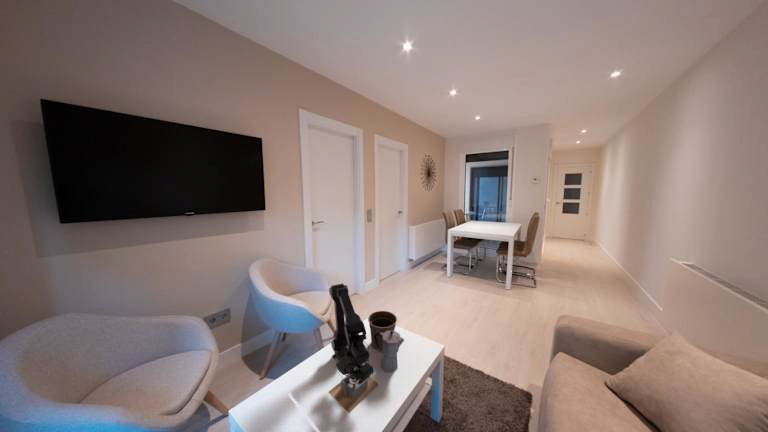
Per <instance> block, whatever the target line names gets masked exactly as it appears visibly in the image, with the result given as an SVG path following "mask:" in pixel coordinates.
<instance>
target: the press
mask: <svg viewBox="0 0 768 432" xmlns="http://www.w3.org/2000/svg"><path fill="white" fill-rule="evenodd" d="M349 379H350V374H346V376H345V377H344V378H342V379H341V380H340V382H341V389H342V390H343V394H344V395H345V396H349V397H350V398H351V399H352V400H355V399H356V398H357V397H358V396H359V395H360V394H361V393H362V392H363V391H364V390H365V389H366V388H367V387H368V380H367V379H366V380H362V379H361V378H359V382H361V384H360V385H359V386H358V387H357V388H356V389H354V390H353V389H352V388H351V387H349V386H348V385H347V384H348V383H349Z"/></svg>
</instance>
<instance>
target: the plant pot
mask: <svg viewBox="0 0 768 432" xmlns="http://www.w3.org/2000/svg"><path fill="white" fill-rule="evenodd" d="M397 321H398V318H397V316H396V314H394V312H391V311H387V310H376V311H374V312H372V313H370V314H369V315H368V319H367V322H368V324H369V329H370V342H371V346H372V348H373V350H375V351H377V352H382V353H383V343H382V337H380V336H378V335H377V336H376V337H377V341H378V345H379V347H381V348H382V349H378V348H377V345H376V342H375V338H374V335H375V334H376V333H377V332H380V333H381V332H382V333H384V332H386V331H395V329H396V325H397Z"/></svg>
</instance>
